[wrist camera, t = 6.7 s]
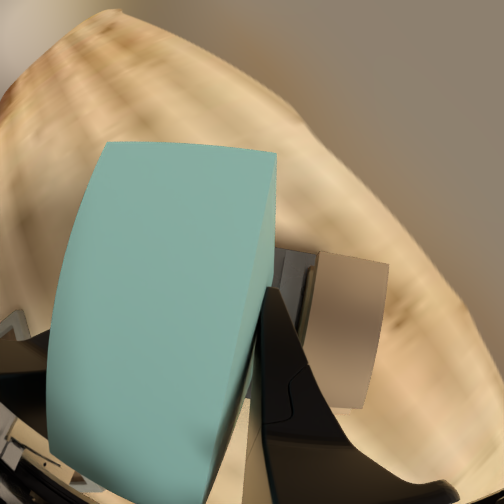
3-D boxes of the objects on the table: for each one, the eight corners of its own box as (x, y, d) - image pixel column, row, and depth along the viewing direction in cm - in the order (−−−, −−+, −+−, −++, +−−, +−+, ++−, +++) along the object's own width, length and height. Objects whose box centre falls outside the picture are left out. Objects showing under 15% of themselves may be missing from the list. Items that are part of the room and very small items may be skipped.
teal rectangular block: (251, 378, 14) (196, 525, 2) (200, 365, 14) (49, 452, 3) (273, 275, 15) (276, 152, 4) (222, 265, 16) (106, 141, 4)
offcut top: (355, 402, 13) (362, 408, 12) (288, 396, 13) (290, 403, 12) (380, 267, 15) (389, 264, 13) (315, 255, 15) (319, 251, 14)
